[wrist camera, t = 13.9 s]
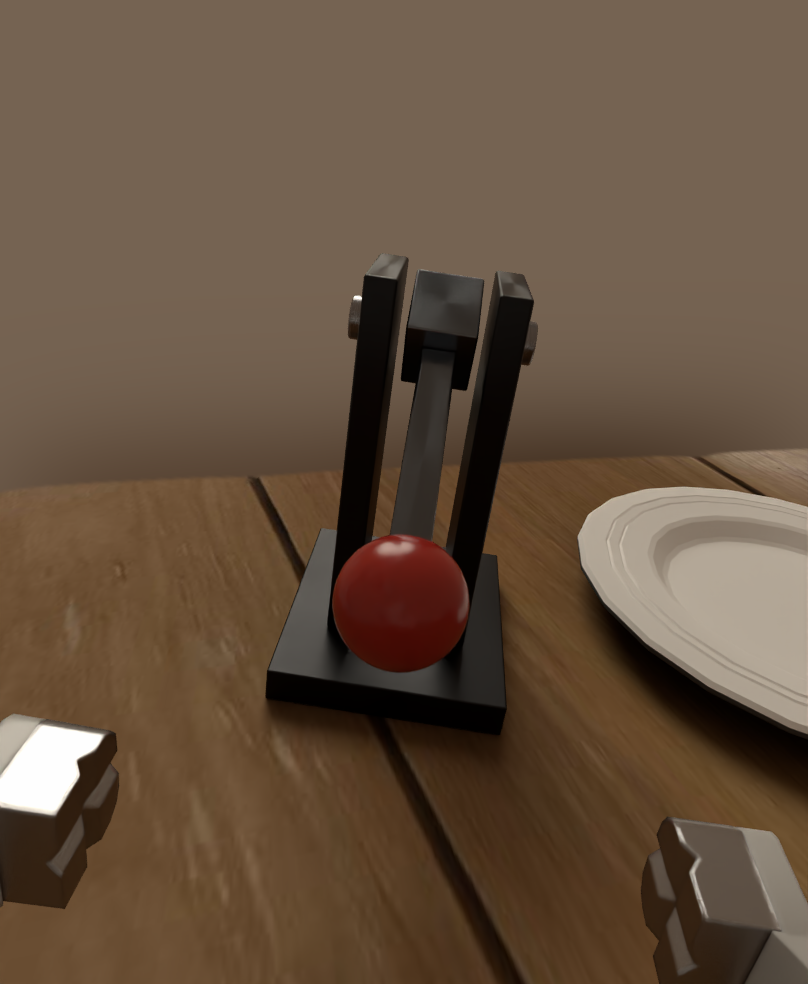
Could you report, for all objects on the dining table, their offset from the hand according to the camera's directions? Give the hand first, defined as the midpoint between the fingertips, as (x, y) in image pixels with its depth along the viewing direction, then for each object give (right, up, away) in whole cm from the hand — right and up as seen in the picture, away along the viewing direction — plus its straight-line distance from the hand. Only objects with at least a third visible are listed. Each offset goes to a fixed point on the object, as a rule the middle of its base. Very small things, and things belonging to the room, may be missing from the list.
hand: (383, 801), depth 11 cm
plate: (+18, -2, +23) cm, 29 cm away
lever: (+1, +5, +12) cm, 13 cm away
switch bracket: (0, -1, +19) cm, 19 cm away
